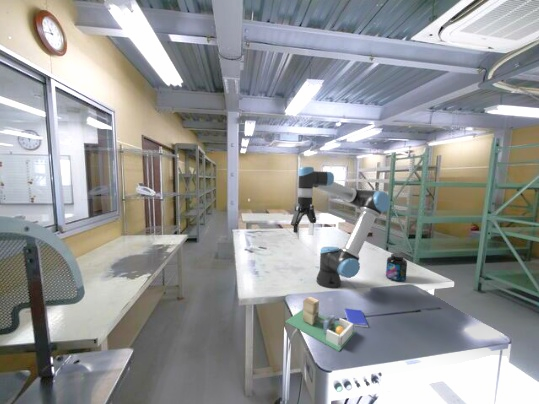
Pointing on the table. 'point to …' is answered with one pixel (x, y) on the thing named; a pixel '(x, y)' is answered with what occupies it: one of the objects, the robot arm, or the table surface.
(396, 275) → the container
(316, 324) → the pitch mat
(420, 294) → the table surface
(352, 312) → the blue flat square slab
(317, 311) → the rod slider
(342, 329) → the ball
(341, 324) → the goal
